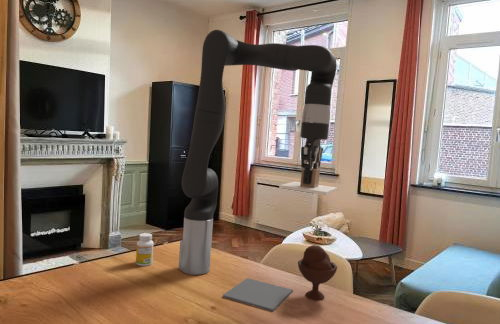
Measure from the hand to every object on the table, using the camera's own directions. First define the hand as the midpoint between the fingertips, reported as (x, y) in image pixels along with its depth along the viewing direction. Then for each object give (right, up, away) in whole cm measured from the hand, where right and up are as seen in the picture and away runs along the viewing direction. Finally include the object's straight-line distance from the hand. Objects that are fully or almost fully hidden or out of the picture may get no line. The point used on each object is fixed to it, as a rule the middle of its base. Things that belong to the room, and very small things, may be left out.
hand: (309, 182), depth 104 cm
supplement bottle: (-52, -28, +19) cm, 62 cm away
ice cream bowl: (+2, -33, +2) cm, 33 cm away
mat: (-14, -32, +1) cm, 35 cm away
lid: (0, -2, 0) cm, 2 cm away
